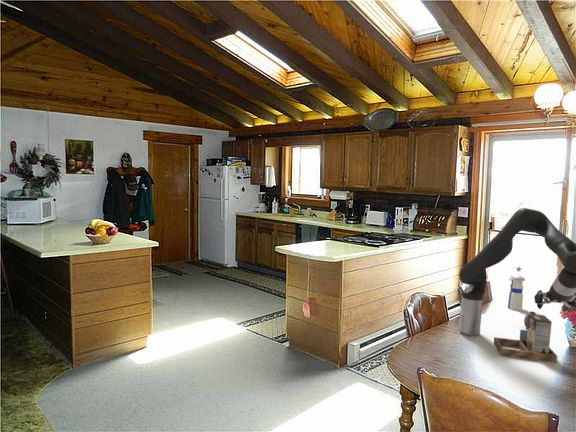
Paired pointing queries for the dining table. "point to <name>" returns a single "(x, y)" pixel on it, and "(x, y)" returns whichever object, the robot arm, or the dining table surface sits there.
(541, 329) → the coffee box
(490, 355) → the dining table surface
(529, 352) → the organiser
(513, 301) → the white blue toy tower
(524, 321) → the vase
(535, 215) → the robot arm
